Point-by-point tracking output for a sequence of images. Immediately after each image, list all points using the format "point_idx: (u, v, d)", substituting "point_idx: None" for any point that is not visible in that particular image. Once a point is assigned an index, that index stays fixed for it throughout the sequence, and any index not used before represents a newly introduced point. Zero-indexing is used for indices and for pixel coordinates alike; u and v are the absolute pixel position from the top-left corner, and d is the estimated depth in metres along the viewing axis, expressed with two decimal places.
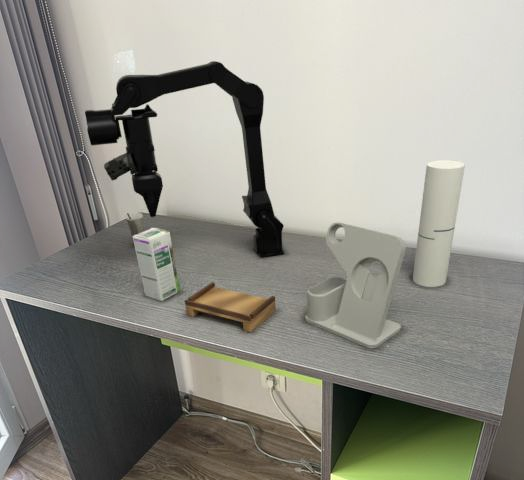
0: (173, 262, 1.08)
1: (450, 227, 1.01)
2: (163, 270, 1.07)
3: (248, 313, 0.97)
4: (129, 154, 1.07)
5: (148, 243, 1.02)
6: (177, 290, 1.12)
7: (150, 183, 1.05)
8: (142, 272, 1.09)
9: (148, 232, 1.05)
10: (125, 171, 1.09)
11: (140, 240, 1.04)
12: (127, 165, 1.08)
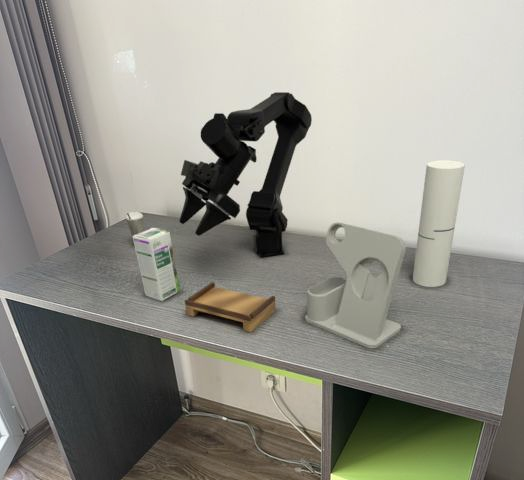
0: (173, 262, 1.08)
1: (450, 227, 1.01)
2: (163, 270, 1.07)
3: (248, 313, 0.97)
4: (219, 171, 1.04)
5: (148, 243, 1.02)
6: (177, 290, 1.12)
7: (231, 207, 1.01)
8: (142, 272, 1.09)
9: (148, 232, 1.05)
10: (204, 180, 1.03)
11: (140, 240, 1.04)
12: (210, 177, 1.03)
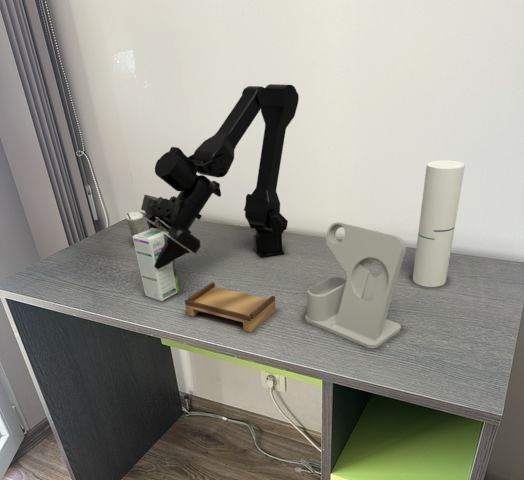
0: (173, 262, 1.08)
1: (450, 227, 1.01)
2: (163, 270, 1.07)
3: (248, 313, 0.97)
4: (179, 206, 1.03)
5: (148, 243, 1.02)
6: (177, 290, 1.12)
7: (190, 243, 1.00)
8: (142, 272, 1.09)
9: (148, 232, 1.05)
10: (164, 215, 1.02)
11: (140, 240, 1.04)
12: (171, 212, 1.02)
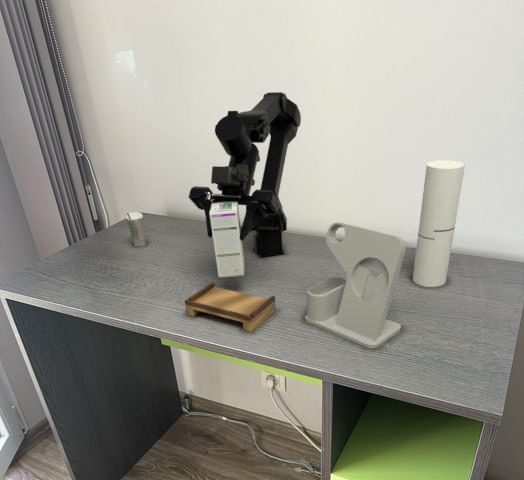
0: None
1: (450, 227, 1.01)
2: (241, 242, 1.04)
3: (248, 313, 0.97)
4: None
5: (234, 214, 0.98)
6: (244, 263, 1.09)
7: (276, 204, 1.01)
8: (218, 251, 1.02)
9: (220, 206, 1.00)
10: (239, 184, 0.99)
11: (221, 214, 0.98)
12: None
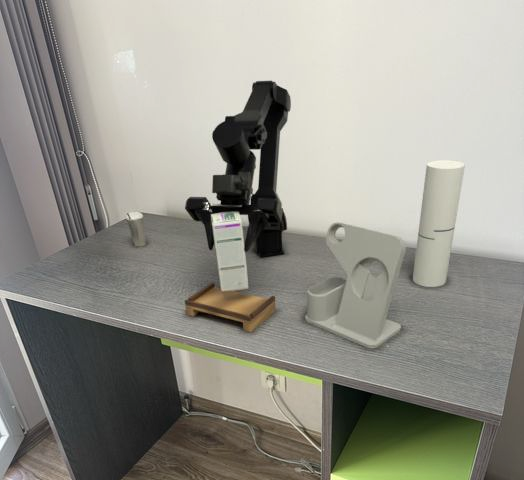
0: None
1: (450, 227, 1.01)
2: None
3: (248, 313, 0.97)
4: None
5: (239, 225, 0.93)
6: None
7: (280, 212, 0.97)
8: (221, 264, 0.97)
9: (222, 216, 0.94)
10: (241, 192, 0.94)
11: (225, 225, 0.92)
12: None
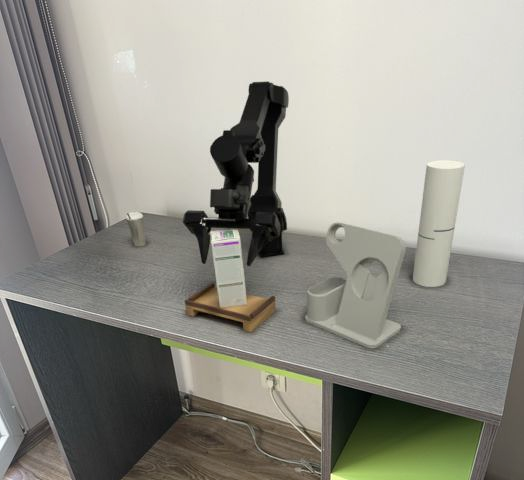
0: None
1: (450, 227, 1.01)
2: None
3: (248, 313, 0.97)
4: None
5: (237, 243, 0.93)
6: None
7: (278, 226, 0.96)
8: (220, 281, 0.97)
9: (221, 234, 0.94)
10: (239, 206, 0.93)
11: (223, 243, 0.92)
12: None
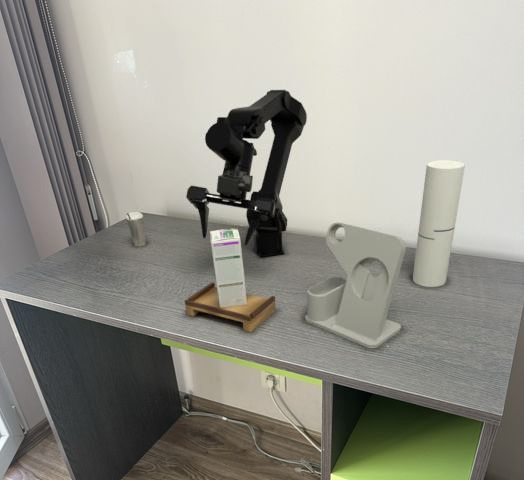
0: None
1: (450, 227, 1.01)
2: None
3: (248, 313, 0.97)
4: None
5: (237, 243, 0.93)
6: None
7: (274, 210, 1.07)
8: (220, 281, 0.97)
9: (221, 234, 0.94)
10: (242, 191, 1.02)
11: (223, 243, 0.92)
12: None
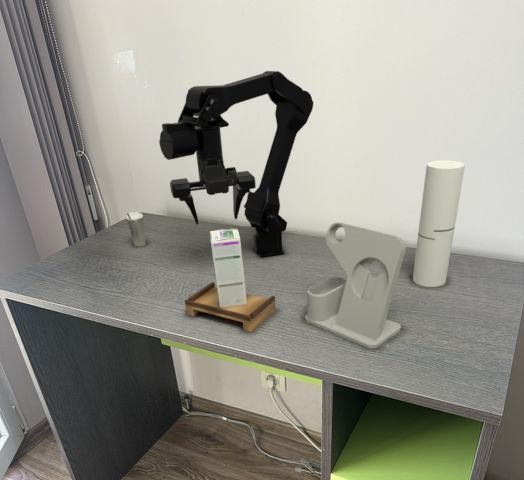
0: None
1: (450, 227, 1.01)
2: None
3: (248, 313, 0.97)
4: None
5: (237, 243, 0.93)
6: None
7: None
8: (220, 281, 0.97)
9: (221, 234, 0.94)
10: None
11: (223, 243, 0.92)
12: None
